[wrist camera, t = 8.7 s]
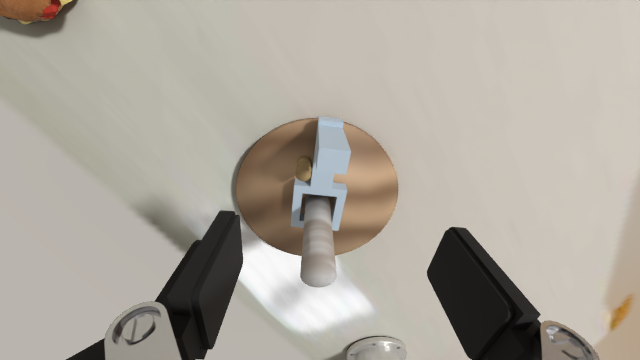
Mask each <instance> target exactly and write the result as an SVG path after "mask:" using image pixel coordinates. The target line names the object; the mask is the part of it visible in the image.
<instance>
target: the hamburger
mask: <svg viewBox="0 0 640 360" xmlns="http://www.w3.org/2000/svg"><path fill="white" fill-rule="evenodd" d="M71 1H72V0H0V15H2V16H4V17H6V18H8V19H16V20H18V21H20V22H21V23H22V24H29V23H31V22H32V21H33V22H39V21H49V20H50V19H52V18H54V17H55V16H56V14H57V13H59V11H60V10H61V9H62V8H63V6H64V5H65V4H67V3H69V2H71Z"/></svg>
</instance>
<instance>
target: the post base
mask: <svg viewBox="0 0 640 360" xmlns="http://www.w3.org/2000/svg"><path fill="white" fill-rule="evenodd" d="M318 119H319V118H307V119H301V120H296V121H292V122H289V123H286V124H283V125H281V126H279V127H277V128H275V129H273V130H272V131H270V132H269V133H267V134H266V135H264V136H263V137H262V138H261V139H260V140H259V141H258V142H257V143H256V144H255V145H254V146H253V147H252V149H251V150H250V151H249V153H248V154H247V156H246V157H245V159H244V161H243V163H242V164H241V167H240V170H239V172H238V177H237V182H236V196H237V202H238V206H239V209H240V212H241V214H242V216H243V218H244V220H245V221H246V223H247V224H248V226H249V227H250V228H251V229H252V231H253V232H254V233H255V234H256V235H258V236H259V237H260V238H261V239H262V240H264V241H265V242H266V243H268V244H270V245H271V246H273V247H275V248H277V249H279V250H282V251H284V252H287V253H290V254H294V255H299V256H302V260H301V275H300V276H301V279H302V281H303V282H304V283H305V284H307V285H309V286H312V287H324V286H327V285H330V284H331V283H333V282H334V280H335V279H336V276H337V275H336V264H335V255H339V254H343V253H346V252H349V251H352V250H354V249H356V248H358V247H360V246H362V245H364V244H366V243H367V242H369V241H370V240H371V239H373V238H374V237H375V236H376V235H377V234H378V233H379V232H380V231H381V230H382V229H383V228H384V227H385V225H386V224H387V223H388V221H389V219H390V218H391V216H392V214H393V211H394V209H395V206H396V203H397V197H398V180H397V175H396V171H395V169H394V166H393V164H392V162H391V160H390V158H389V156H388V155H387V153H386V152H385V151H384V149H383V148H382V147H381V145H380V144H379V143H378V142H377V141H376V140H375V139H374V138H373V137H372V136H370V135H369V134H367V133H366V132H365V131H363V130H361V129H359V128H358V127H356V126H354V125H351V124H348V123H346V122H344V124H343V130H344V133H345V136H346V138H347V141H348V144H349V147H350V150H351V154H350V159H349V164H348V168H347V173H346V175H343V174H334V179H333V182H334V183H343V184H346V186H347V195H346V199H345V203H344V208H343V212H342V217H341V221H340V226H339V230H338V231H335V230H332V221H331V214H332V209H333V204H334V199H335V197H333V196H323V195H313V194H304V193H302V201H301V210H300V213H302V214H305V216H304V228H302V227H291V215H292V204H293V193H294V183H295V178H297V179H298V180H300V181H307V180H311V173H312V166H313V158H314V150H315V142H316V135H317V127H318Z"/></svg>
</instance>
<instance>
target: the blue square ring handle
mask: <svg viewBox="0 0 640 360" xmlns="http://www.w3.org/2000/svg"><path fill="white" fill-rule="evenodd" d="M343 124H344V122H343V120H342V119H339V118H331V117H323V116H319V119H318V127H317V135H316V142H315V150H314V158H313V166H312V173H311V180H307V181H300V180H298V179H297V178H295V183H294V193H293V204H292V215H291V227H302V228H304V216H305V214H302V213H300V210H301V201H302V193H304V194H313V195H323V196H333V197H335V199H334V204H333V209H332V214H331V221H332V230H335V231H338V230H339V226H340V221H341V217H342V212H343V208H344V203H345V199H346V195H347V186H346V184H343V183H334V182H333V179H334V174H343V175H346V173H347V168H348V164H349V159H350V154H351V150H350V147H349V144H348V141H347V138H346V136H345V133H344V130H343Z"/></svg>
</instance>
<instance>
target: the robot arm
mask: <svg viewBox="0 0 640 360" xmlns="http://www.w3.org/2000/svg"><path fill="white" fill-rule="evenodd" d="M242 264H243V253H242V241H241V229H240V217H239V215H235V212H234V211H222V210H221V211H220V212H219V213H218V215H217V216H216V218H215V220H214V221H213V223H212V224H211V226H210V228H209V229H208V231H207V232H206V234H205V236H204V237H203V239H202V240H196V241H195V242H194V243H193V244H192V245H191V247H190V248H189V250H188V251H187V253H186V254H185V256H184V258H183V259H182V261H181V262H180V264H179V265H178V267H177V268H176V270H175V271H174V273H173V274H172V276H171V277H170V279H169V280H168V282H167V283H166V285H165V287H164V288H163V289H162V291H161V292H160V294H159V296H158V297H157V299H156V300H155V302H153V301H151V302H143V303H140V304H138V305H135V306H133V307H131V308H129V309H128V310H126V311H124V312H123V313H122V314H121V315H120V316H118V317H117V318H116V319H115V320H114V322H113V323H112V324H111V325H110V327H109V328H108V330H107V332H106V334H105V338H104V339H102V340H100V341H99V342H97V343H95V344H93V345H91V346H90V347H88V348H86V349H85V350H83V351H81V352H79V353H77V354H75V355H74V356H72V357H70V358H68V359H66V360H195V359H204V358H205V355H206V353H207V350H208V349H212V348H213V347H214V344H215V341H216V338H217V336H218V333H219V330H220V327H221V325H222V322H223V319H224V316H225V313H226V310H227V307H228V305H229V302H230V299H231V296H232V293H233V291H234V288H235V285H236V282H237V279H238V276H239V274H240V271H241V268H242ZM427 276H428V279H429V281H430V283H431V285H432V287H433V289H434V291H435V293H436V295H437V297H438V299H439V301H440V303H441V305H442V307H443V309H444V311H445V313H446V315H447V317H448V319H449V321H450V323H451V325H452V327H453V329H454V331H455V333H456V335H457V337H458V339H459V341H460V343H461V345H462V347H463V349H464V351H465V353H466V354H467V356H468V357H469V358H470V359H472V360H600V359H599V357H598V355H597V353H596V352H595V350H594V349H593V348H592V346H591V345H590V344H589V343H588V342H587V341H586V340H585V339H584V338H583V337H581V336H580V335H579V334H577V333H576V332H575V331H573V330H572V329H570V328H568V327H567V326H565V325H562V324H560V323H558V322H554V321H544V322H542V323H540V322H539V320H538V319H537V318H538V317H539V316H540V315H541V314H540V313H539V312H538V311H537V310H536V309H535V307H534V306H533V305H532V304H531V303H530V302H529V301H528V299H527V298H526V297H525V296H524V295H523V294H522V292H521V291H520V290H519V289H518V288H517V287H516V285H515V284H514V283H513V282H512V281H511V280H510V279H509V277H508V276H507V275H506V274H505V273H504V272H503V270H502V269H501V268H500V267H499V266H498V265H497V263H496V262H495V261H494V260H493V259H492V258H491V257H490V255H489V254H488V253H487V252H486V251H485V250H484V248H483V247H482V246H481V245H480V244H479V243H478V241H477V240H476V239H475V238H474V237H473V236H472V235H471V233H470V232H469V231H468V230H467V229H466V228H459V227H451V228H449V230H446V231H445V233H444V235H443V238H442V240H441V242H440V244H439V246H438V248H437V251H436V253H435V255H434V257H433V259H432V261H431V263H430V266H429V268H428V270H427ZM406 356H407V352H406V349H405V346H404V344H402V343H401V342H400V341H398V340H396V339H393V338H389V337H371V338H367V339H363V340H360V341H358V342H356V343H354V344H353V345H352V346H351V347H350V348H349V349H348V351H347V360H405V358H406Z"/></svg>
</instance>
